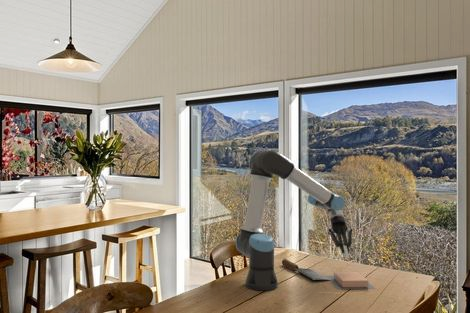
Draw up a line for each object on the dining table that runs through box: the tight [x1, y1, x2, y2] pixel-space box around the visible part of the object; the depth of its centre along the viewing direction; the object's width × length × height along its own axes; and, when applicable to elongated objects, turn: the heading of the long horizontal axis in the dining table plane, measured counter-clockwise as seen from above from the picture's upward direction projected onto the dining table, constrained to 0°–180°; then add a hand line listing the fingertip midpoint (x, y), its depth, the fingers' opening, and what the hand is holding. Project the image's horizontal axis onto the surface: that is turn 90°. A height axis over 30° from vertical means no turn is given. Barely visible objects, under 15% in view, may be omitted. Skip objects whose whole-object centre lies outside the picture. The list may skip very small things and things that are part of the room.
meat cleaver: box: [281, 258, 332, 281], centre depth 205 cm, size 34×11×4 cm, turn 20°
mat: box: [325, 275, 376, 290], centre depth 189 cm, size 18×20×1 cm
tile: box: [333, 271, 369, 288], centre depth 187 cm, size 12×3×14 cm
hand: (347, 258), depth 192 cm, fingers closed
